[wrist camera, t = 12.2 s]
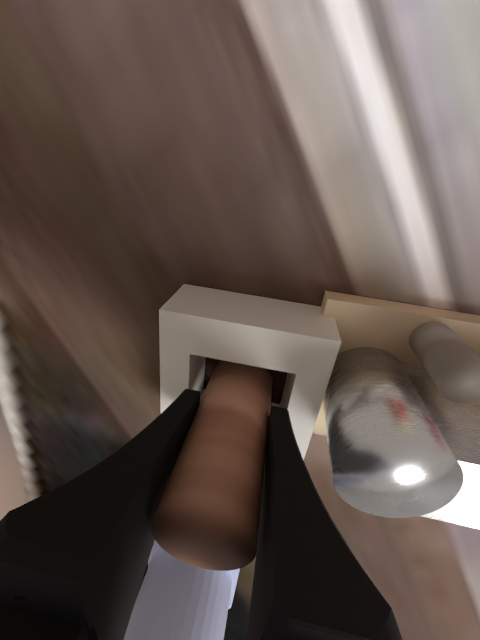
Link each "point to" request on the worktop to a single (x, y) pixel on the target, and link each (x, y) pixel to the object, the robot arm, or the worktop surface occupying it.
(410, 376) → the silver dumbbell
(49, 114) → the worktop surface
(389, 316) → the peg board
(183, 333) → the slot block
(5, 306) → the worktop surface
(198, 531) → the pin
